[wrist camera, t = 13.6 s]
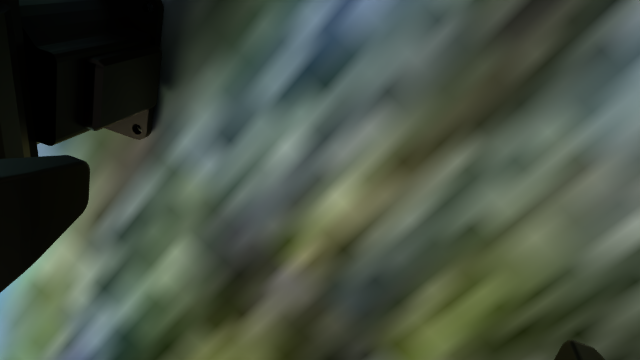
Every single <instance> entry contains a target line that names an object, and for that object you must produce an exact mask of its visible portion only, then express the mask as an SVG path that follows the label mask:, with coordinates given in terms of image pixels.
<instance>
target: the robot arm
mask: <svg viewBox="0 0 640 360" xmlns="http://www.w3.org/2000/svg"><path fill="white" fill-rule="evenodd" d="M149 2H150V3H151V4H152V6H153V12H152V13H151V12H150V11H149V10H148V3H149ZM163 11H164V10H163V4H162V1H161V0H0V292H2V291H3V290H4V289H5V288H6V287H7V286H9V285H10V284H11V283H12V282H13V281H15V280H16V279H17V278H18V277H19V276H20V275H22V274H23V273H24V272H25V271H26V270H27V269H28V268H29V267H31V266H32V265H33V264H34V263H35V262H36V261H37V260H38V259H39V258H40V257H41V256H42V255H43V254H44V253H45V251H46V250H47V249H48V248H49V247H50V246H51V245H52V244H53V243H54V242H55V241H56V240H57V239H58V238H59V237H60V236H61V235H62V234H63V233H64V232H65V231H66V230H67V229H68V228H69V227H70V226H71V225H72V223H73V222H74V221H75V220H76V219H77V218H78V217H79V216H80V215H81V214H82V213H83V212H84V210H85V209H86V207H87V204H88V200H89V181H90V168H89V165H88V164H87V162H85V161H83V160H80V159H78V158H75V157H72V156H69V155H61V156H43V157H38V150H37V144H39V143H43V144H46V145H48V146H53V145H55V144H57V143H60V142H62V141H65V140H67V139H70V138H72V137H75V136H77V135H80V134H82V133H84V132H87V131H89V130H94V131H98V130H100V129H102V128H106V129H109V130H111V131H114V132H117V133H120V134H123V135H126V136H128V137H131V138H134V139H138V140H140V139H143V138H145V137H147V136H149V135H150V133H151V129H152V119H153V110H154V106H155V105H156V103H157V95H158V85H159V75H160V66H161V56H162V52H161V50H160V41H161V31H162V21H163ZM137 124H138V125H140V127H141V128H142V132H141V131H139V130H138V128H137ZM554 360H605V359H604V358H603V357H602V356H601V355H600V354H599V353H598V352H597V350H595V349H594V348H592V347H590V346H587V345H585V344H582V343H579V342H576V341H574V340H568V341H566V342H565V343H564V344H563V345H562V347H561V348H560V350H559V352H558V354H557V355H556V357H555V359H554Z"/></svg>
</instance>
